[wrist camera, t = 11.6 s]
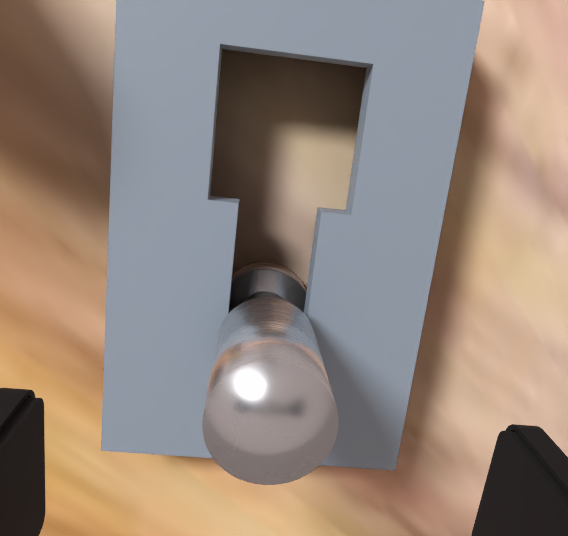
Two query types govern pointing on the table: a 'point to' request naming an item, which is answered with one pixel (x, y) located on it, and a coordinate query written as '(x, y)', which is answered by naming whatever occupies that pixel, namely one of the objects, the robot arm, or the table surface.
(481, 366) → the table surface
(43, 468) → the robot arm
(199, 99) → the keyhole plate
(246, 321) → the stud
